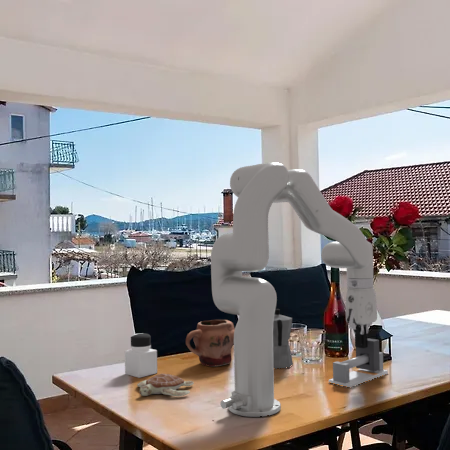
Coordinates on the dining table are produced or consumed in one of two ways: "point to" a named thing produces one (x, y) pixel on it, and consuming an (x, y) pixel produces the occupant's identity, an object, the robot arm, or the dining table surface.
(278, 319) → the coffeepot
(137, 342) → the medicine bottle
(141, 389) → the decorative turtle
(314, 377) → the dining table surface
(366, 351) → the dark grey sliding block
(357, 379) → the pipe rig
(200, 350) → the brown clay mug
